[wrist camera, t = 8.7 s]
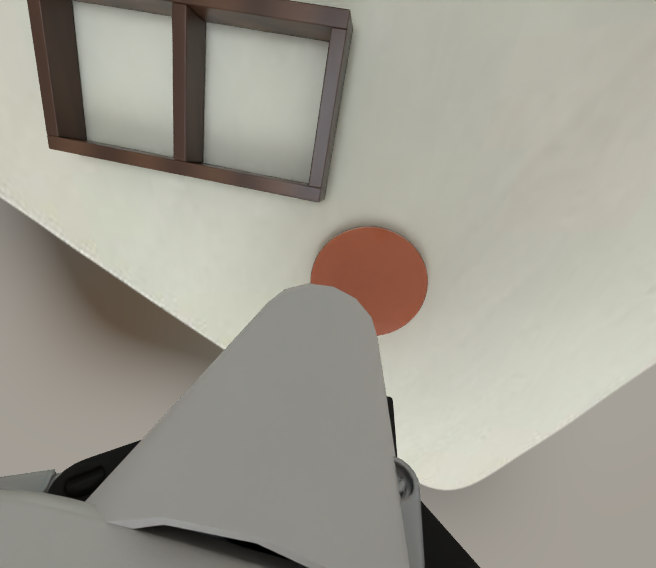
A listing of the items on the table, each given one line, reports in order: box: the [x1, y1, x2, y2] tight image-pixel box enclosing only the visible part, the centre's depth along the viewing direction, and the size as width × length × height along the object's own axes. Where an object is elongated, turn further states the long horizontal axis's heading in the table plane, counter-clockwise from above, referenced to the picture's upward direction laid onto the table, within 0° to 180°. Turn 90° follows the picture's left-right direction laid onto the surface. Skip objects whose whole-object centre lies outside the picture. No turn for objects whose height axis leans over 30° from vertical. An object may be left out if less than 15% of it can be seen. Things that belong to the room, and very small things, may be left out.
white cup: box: [85, 283, 410, 568], centre depth 10 cm, size 7×7×10 cm
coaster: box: [311, 226, 428, 336], centre depth 26 cm, size 10×10×1 cm
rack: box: [27, 0, 353, 202], centre depth 22 cm, size 22×12×2 cm, turn 80°
